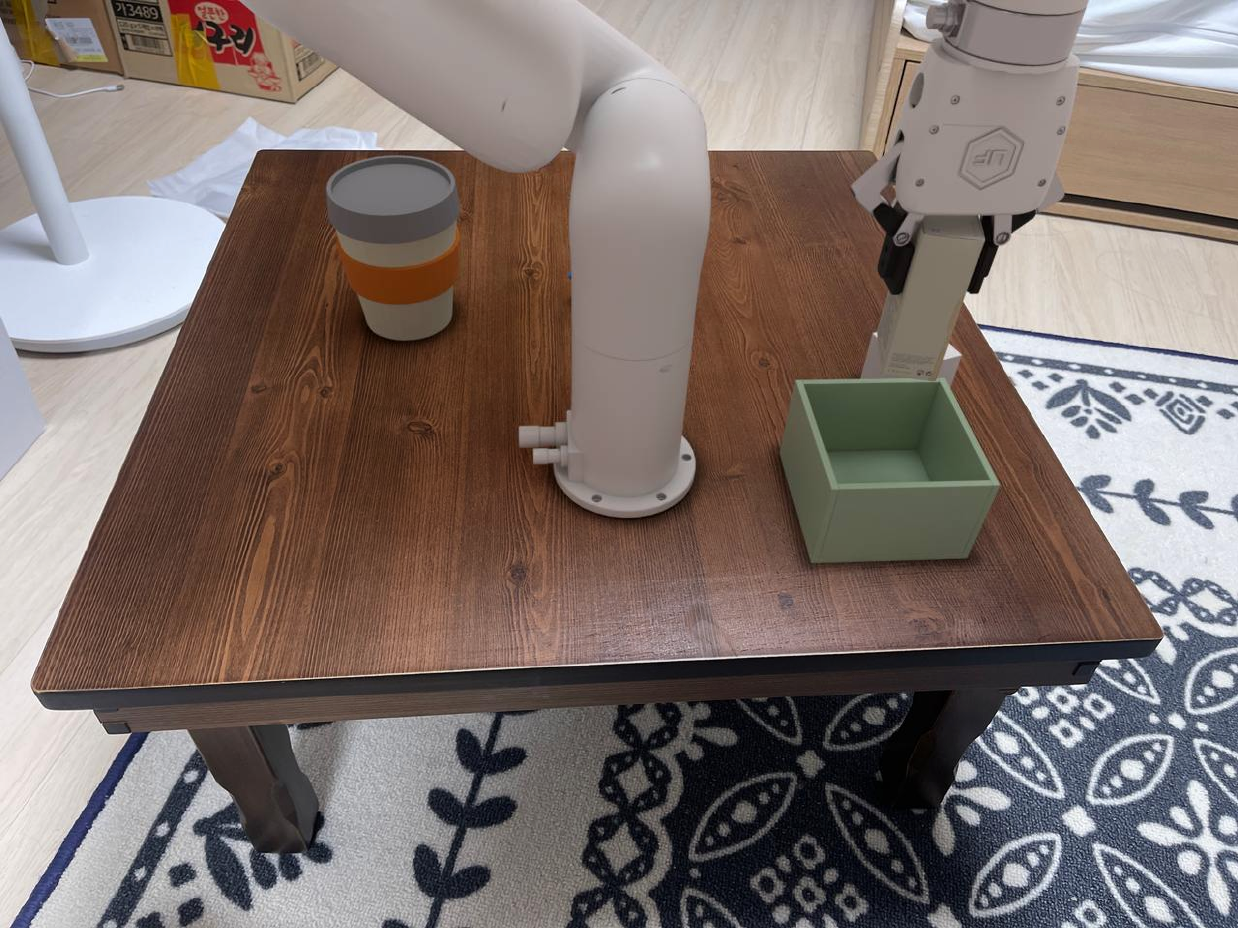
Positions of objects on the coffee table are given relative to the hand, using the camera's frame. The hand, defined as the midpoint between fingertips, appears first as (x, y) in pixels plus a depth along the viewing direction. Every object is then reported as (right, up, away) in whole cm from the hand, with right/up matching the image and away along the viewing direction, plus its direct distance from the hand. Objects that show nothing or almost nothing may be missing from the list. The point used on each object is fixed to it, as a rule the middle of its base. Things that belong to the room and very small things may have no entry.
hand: (928, 282), depth 69 cm
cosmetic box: (0, -5, +5) cm, 7 cm away
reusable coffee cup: (-45, +2, +30) cm, 54 cm away
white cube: (+5, -6, +24) cm, 25 cm away
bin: (-1, -17, +13) cm, 21 cm away
